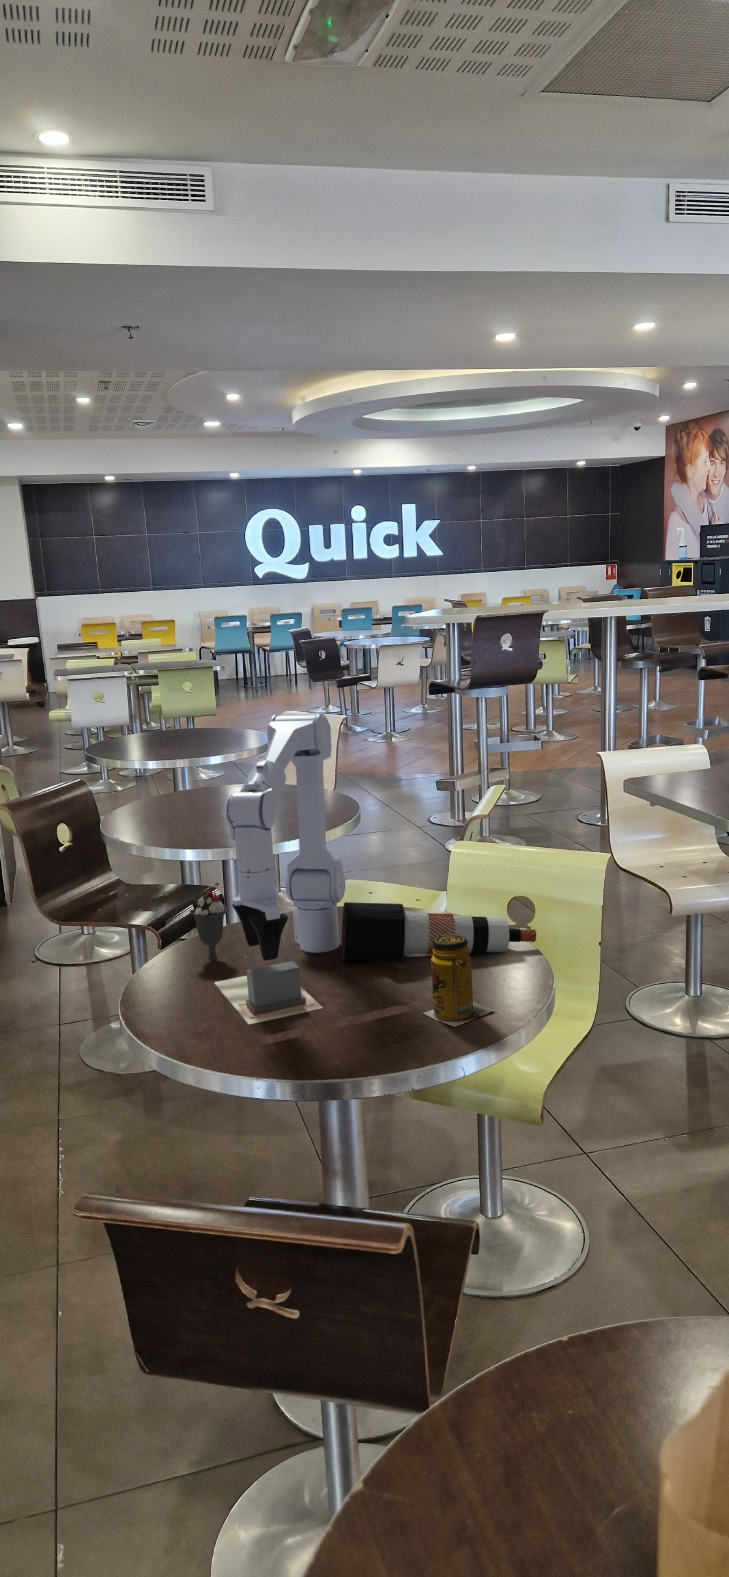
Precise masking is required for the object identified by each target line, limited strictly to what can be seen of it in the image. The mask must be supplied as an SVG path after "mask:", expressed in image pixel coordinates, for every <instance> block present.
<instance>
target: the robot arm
mask: <svg viewBox="0 0 729 1577" xmlns="http://www.w3.org/2000/svg"><path fill="white" fill-rule="evenodd" d="M331 731H332V728H331V725H330V722H329V719H328V718H327V716H326V715H325V714H324V713H316V714H287V715H285V714H284V715H282V714H281V715H280V714H273V715H272V716H271V718H270V719H269V720H268V722H267V731H266V734H267V741H268V743H269V745H268V748H267V750H266V753H265V756H264V759H263V760H260V761H257V762H256V763H254V765H252V768H251V770H250V772H249V773H248V776H247V778H246V779H245V782H244V783H243V785H242V787H241V788H240V790H239V791H236V792H234V793H233V794H231V795H230V796H228V798H227V801H226V804H225V805H226V806H225V819H226V822H227V823H226V824H227V826H228V827H229V832H230V838H231V840H232V841H234V848H235V857H236V858H235V859H236V869H237V872H236V873H237V883H238V884H237V885H238V896H236V897H233V898H231V901H232V905H231V906H232V908H233V910H234V911H235V912H236V915H237V917H238V919H239V921H240V923H241V927H242V930H243V933H244V936H245V940H246V943H247V945H248V947H255V946H259V949H260V953H261V957H262V959H263V961H264V962H266V961H267V962H268V961H271V960H276V959H278V956H279V950H280V946H281V945H280V944H281V939H282V936H283V931H284V928H285V926H286V924H287V922H288V919H289V918H288V917H289V916H288V915H287V914H286V913H281V910H280V904H279V905H278V903H279V894H278V892H277V885H276V884H277V883H276V873H275V872H276V870H275V859H274V846H273V835H272V828H273V826H274V825H275V823H276V820H277V810H278V806H279V802H278V799H279V797H280V794H281V792H282V791H283V788H284V786H285V784H286V782H287V775H286V772H285V770H286V768H287V766H288V765H289V763H290V762H291V763H292V764H293V765H294V767H295V774H296V775H295V777H296V797H297V800H296V801H297V821H298V823H297V824H298V842H299V844H298V845H299V846H298V848H299V852H298V853H297V854H296V855H294V856H293V857H292V858H291V859H289V862H288V863H287V866H286V869H287V870H286V877H285V878H286V879H285V894H286V896H287V898H288V900H289V901H290V902H292V903H293V907H294V908H293V911H292V920H293V931H294V932H293V934H294V942H295V943H297V944H298V945H299V948H300V950H302V951H303V952H306V953H314V954H315V953H317V954H319V953H327V952H331V951H334V950H336V949H337V948H339V946H340V934H339V933H340V932H339V917H338V904H339V903H341V901H342V900H343V898H344V896H345V892H346V876H345V874H344V869H343V868H344V867H343V863H342V860H341V859H340V858H339V857H338V856H336V855H335V854H333V853H332V852H330V850H328V849H327V836H326V835H327V834H326V832H327V831H326V811H325V808H326V807H325V787H324V786H325V784H324V783H325V782H324V780H325V779H324V761H325V760H328V759H330V758H331V757H332V732H331Z"/></svg>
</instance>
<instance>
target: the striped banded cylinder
mask: <svg viewBox="0 0 729 1577" xmlns="http://www.w3.org/2000/svg"><path fill="white" fill-rule="evenodd" d="M404 908H405V906H404V904H403V903H389V902H388V903H385V902H384V903H383V902H351V901H350V902H347V901H346V902H343V909H342V922H341V924H342V925H341V955H342V956H341V958H342V961H343V962H347V961H348V962H351V961H352V962H353V961H354V962H359V961H360V962H386V963H387V962H390V963H391V962H394V963H395V962H398V963H401V962H403V958H404V955H414V954H418V955H419V954H420V955H426V956H429V955H434V954H433V940H434V939H435V938H436V937H439V936H442V935H461V936H463V937H465V938H466V939H467V941H468V945H467V946H468V954H471V953H482V954H484V953H485V954H486V953H507V952H508V949H509V945H510V944H509V943H520V942H523V943H524V942H526V943H528V942H530V943H531V942H532V943H536V941H537V930H536V929H524V928H522V929H520V928H510V926H509V920H508V918H506V917H487V916H473V915H465V914H464V915H461V914H460V915H457V914H453V913H444V912H443V913H437V912H435V913H431V912H414V911H408V910H406V911H405V909H404Z"/></svg>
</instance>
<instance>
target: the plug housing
mask: <svg viewBox="0 0 729 1577" xmlns="http://www.w3.org/2000/svg"><path fill="white" fill-rule="evenodd" d="M246 976H247V984H248V996H249V1001H250V1002H251V1004H252V1005H253V1006H254V1007H260V1006H264V1005H269V1004H273V1003H278V1002H283V1001H287V1000H292V999H297V998H301V987H302V986H301V974H300V967H299V966H298V964H296V963H295V962H294V961H293V960H290V961H287V962H281V963H276V964H271V965H267V966H260V967H257V968H252V969H246Z"/></svg>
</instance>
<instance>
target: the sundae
mask: <svg viewBox="0 0 729 1577" xmlns="http://www.w3.org/2000/svg"><path fill="white" fill-rule="evenodd" d="M218 886H220V883H219V882H215V884H214V885H213V887H211V890H208V891H207V892H206V894H205V895H204V894H203V895H202V896H200V898H199V899H198V900H197V899H193V898H191V899H190V902H191V905H192V908H193V909H190V910H189V914H190V915H192V916H193V917H194V921H195V925H196V929H197V934H198V938H199V941H201V943H202V944H204V945H205V946H207V948H208V957H207V961H209V962H215V961H218V960H219V957H218V956H217V953H216V952H217V951H216V946H217V945H218V944H219V943H220V942H221V940H222V939H223V935H224V934H223V933H224V917H225V914H226V913H228V907H227V905H225V904H223V902H222V901H220V900H219V899H220V896H219V895H217V894H216V888H217V887H218Z"/></svg>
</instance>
